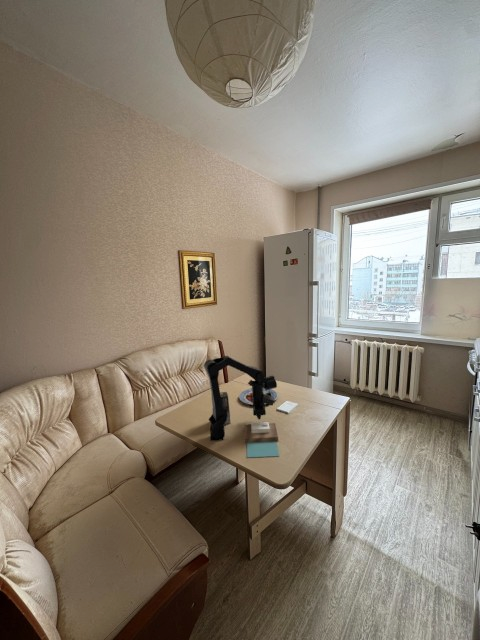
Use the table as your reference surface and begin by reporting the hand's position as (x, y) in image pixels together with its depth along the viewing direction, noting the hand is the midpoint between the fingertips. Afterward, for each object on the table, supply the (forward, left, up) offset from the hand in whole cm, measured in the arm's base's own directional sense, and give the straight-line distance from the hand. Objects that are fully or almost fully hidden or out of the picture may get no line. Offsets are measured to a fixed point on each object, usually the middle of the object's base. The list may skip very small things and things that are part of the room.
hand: (259, 419), depth 131 cm
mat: (0, -20, -3) cm, 21 cm away
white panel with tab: (0, -8, -1) cm, 8 cm away
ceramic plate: (+1, +32, -4) cm, 32 cm away
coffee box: (-21, +5, -3) cm, 22 cm away
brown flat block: (0, -9, -3) cm, 10 cm away
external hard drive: (+18, +17, -4) cm, 25 cm away
